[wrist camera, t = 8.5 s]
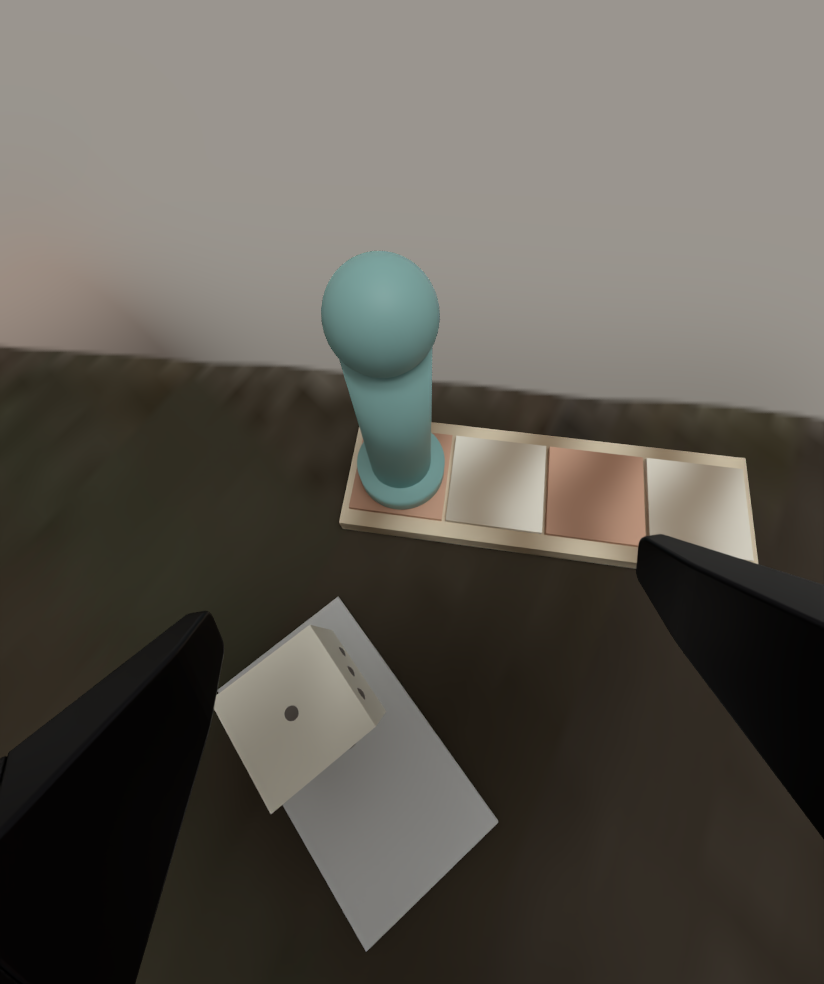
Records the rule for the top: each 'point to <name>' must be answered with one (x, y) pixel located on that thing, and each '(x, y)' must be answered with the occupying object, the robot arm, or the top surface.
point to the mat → (384, 800)
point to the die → (297, 713)
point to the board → (567, 498)
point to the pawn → (388, 372)
